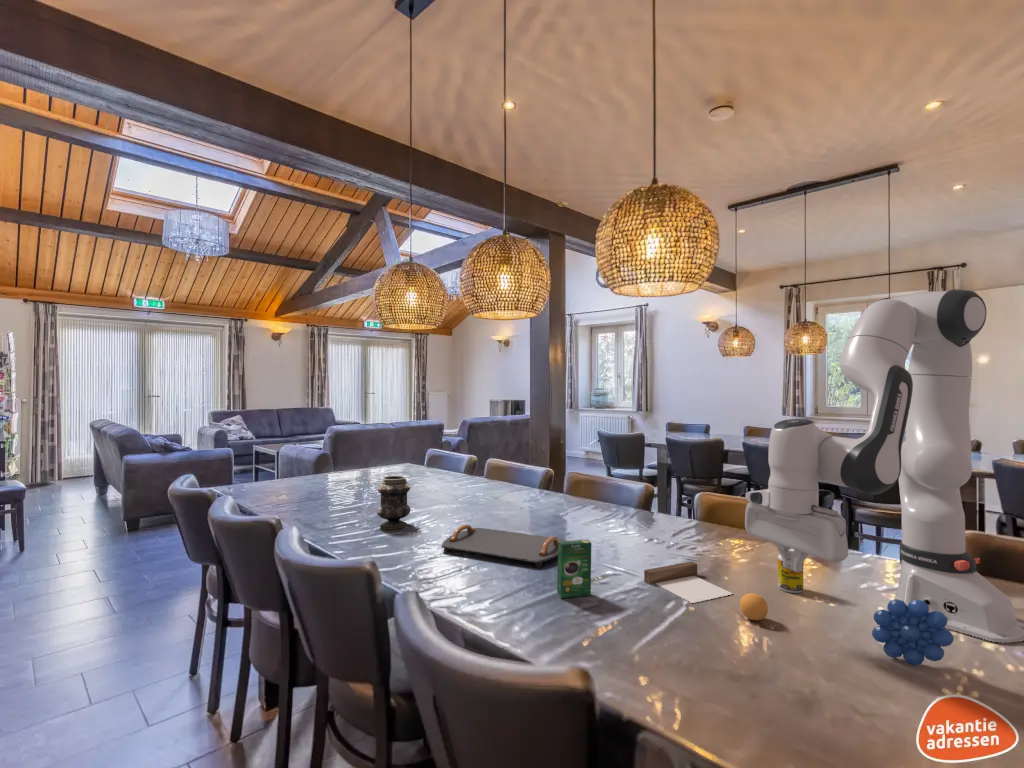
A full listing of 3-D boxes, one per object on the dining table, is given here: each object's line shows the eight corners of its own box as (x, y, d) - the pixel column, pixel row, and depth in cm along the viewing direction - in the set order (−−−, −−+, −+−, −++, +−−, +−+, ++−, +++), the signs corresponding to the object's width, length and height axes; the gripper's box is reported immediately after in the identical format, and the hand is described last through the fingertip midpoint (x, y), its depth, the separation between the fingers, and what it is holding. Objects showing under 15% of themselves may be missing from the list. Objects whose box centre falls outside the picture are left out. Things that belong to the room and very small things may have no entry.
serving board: (432, 553, 155) (432, 533, 155) (470, 534, 176) (470, 516, 176) (548, 573, 138) (548, 551, 138) (575, 549, 159) (575, 529, 159)
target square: (733, 594, 122) (733, 593, 122) (692, 603, 117) (692, 603, 117) (694, 576, 134) (694, 575, 134) (655, 584, 128) (655, 583, 128)
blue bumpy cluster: (955, 666, 90) (954, 599, 90) (953, 683, 85) (952, 612, 85) (875, 644, 98) (875, 582, 98) (870, 658, 93) (869, 593, 93)
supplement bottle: (777, 591, 124) (777, 549, 124) (778, 583, 129) (777, 543, 129) (803, 595, 121) (803, 553, 121) (803, 587, 126) (803, 547, 126)
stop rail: (697, 574, 135) (697, 563, 135) (649, 584, 128) (649, 572, 128) (691, 572, 137) (691, 561, 137) (644, 581, 130) (644, 570, 130)
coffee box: (587, 591, 124) (587, 538, 124) (592, 595, 121) (591, 541, 122) (556, 594, 122) (556, 540, 122) (560, 599, 119) (560, 544, 120)
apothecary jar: (417, 524, 186) (417, 476, 187) (393, 532, 176) (393, 481, 176) (393, 520, 193) (393, 473, 193) (369, 527, 183) (369, 478, 183)
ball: (773, 622, 107) (773, 596, 107) (755, 627, 105) (755, 601, 105) (752, 611, 112) (752, 587, 112) (734, 616, 110) (734, 591, 110)
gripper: (856, 511, 92) (855, 586, 92) (761, 489, 111) (760, 552, 111) (833, 514, 89) (833, 591, 89) (740, 491, 108) (739, 555, 108)
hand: (792, 569), depth 100 cm, fingers closed
